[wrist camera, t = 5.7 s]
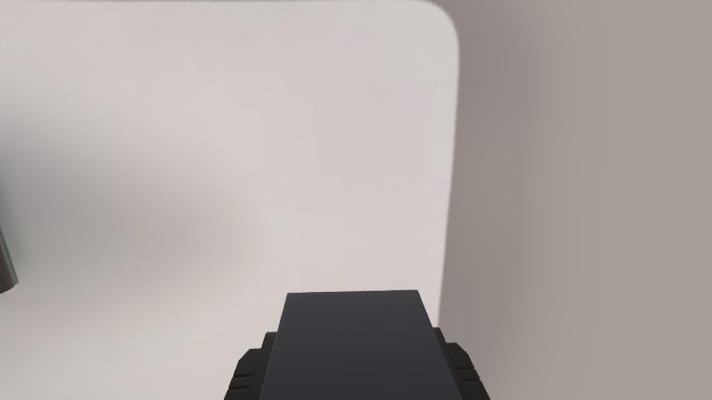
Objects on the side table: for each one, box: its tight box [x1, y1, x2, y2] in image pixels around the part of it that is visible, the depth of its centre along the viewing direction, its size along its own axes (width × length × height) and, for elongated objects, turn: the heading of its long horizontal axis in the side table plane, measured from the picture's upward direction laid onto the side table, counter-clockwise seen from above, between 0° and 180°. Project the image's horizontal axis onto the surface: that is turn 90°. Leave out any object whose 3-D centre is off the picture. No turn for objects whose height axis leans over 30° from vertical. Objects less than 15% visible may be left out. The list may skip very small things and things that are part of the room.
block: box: [259, 290, 462, 400], centre depth 10 cm, size 4×4×4 cm
